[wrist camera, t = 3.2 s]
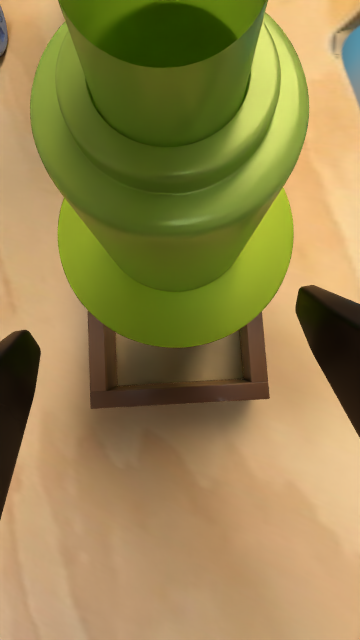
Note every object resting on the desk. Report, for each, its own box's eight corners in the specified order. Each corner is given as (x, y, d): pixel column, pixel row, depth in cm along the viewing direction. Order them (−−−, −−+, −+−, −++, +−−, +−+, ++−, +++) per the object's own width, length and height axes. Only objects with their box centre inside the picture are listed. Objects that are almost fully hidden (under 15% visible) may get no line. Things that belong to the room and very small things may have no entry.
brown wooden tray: (257, 390, 19) (269, 398, 16) (105, 399, 19) (90, 408, 16) (243, 229, 20) (252, 209, 17) (100, 240, 20) (85, 222, 17)
